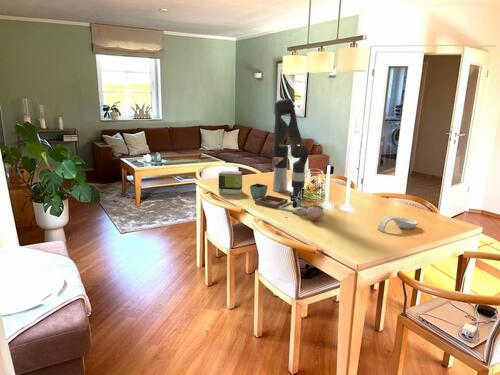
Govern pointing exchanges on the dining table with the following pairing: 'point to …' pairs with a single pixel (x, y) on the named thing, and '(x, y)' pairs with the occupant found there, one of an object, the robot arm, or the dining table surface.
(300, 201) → the ball
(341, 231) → the dining table surface
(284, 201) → the walnut box
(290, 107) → the robot arm
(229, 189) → the retro computer monitor
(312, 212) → the decorative fruit
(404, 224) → the spoon rest
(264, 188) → the flower pot
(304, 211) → the tray
